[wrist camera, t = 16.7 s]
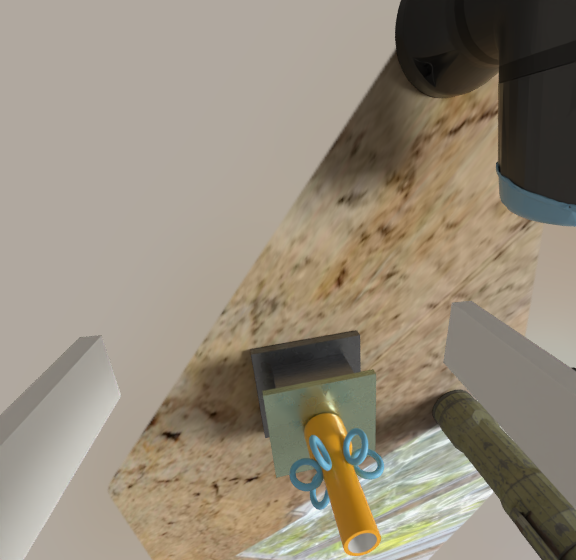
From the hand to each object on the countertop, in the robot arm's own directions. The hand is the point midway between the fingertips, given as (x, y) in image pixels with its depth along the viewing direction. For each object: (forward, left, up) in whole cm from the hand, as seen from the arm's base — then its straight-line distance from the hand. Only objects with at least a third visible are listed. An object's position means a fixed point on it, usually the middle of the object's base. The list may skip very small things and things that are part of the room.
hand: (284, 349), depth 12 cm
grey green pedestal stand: (-6, +31, -34) cm, 46 cm away
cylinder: (-6, +31, -24) cm, 39 cm away
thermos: (-35, +44, -34) cm, 66 cm away
